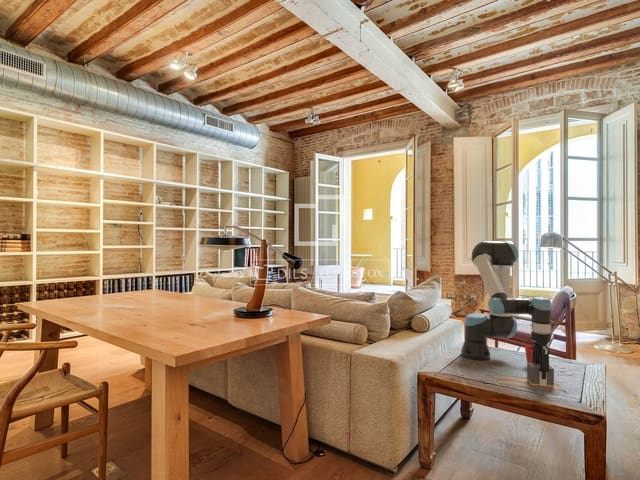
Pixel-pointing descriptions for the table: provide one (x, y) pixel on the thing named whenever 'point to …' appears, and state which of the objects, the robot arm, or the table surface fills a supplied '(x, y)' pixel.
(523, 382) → the plank
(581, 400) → the table surface
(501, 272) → the robot arm
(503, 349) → the table surface
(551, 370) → the sanding block
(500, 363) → the table surface
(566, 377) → the table surface
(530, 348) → the flower pot
